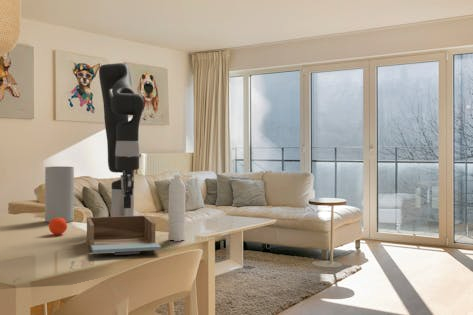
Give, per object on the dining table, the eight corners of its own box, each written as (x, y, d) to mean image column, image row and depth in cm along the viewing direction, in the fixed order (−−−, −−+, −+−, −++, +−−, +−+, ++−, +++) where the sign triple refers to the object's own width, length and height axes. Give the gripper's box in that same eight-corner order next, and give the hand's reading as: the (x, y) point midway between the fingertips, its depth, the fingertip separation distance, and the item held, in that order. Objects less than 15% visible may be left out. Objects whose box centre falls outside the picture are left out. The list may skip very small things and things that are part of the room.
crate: (86, 241, 207) (86, 217, 207) (146, 238, 214) (146, 215, 213) (90, 251, 188) (90, 225, 188) (155, 248, 195) (155, 223, 194)
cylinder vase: (39, 221, 256) (39, 167, 255) (62, 218, 266) (62, 166, 265) (56, 224, 248) (56, 168, 248) (79, 221, 259) (79, 167, 258)
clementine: (49, 233, 225) (49, 215, 224) (67, 232, 226) (67, 215, 226) (48, 236, 217) (48, 218, 217) (66, 235, 219) (67, 217, 219)
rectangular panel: (91, 245, 186) (93, 249, 177) (155, 242, 193) (160, 246, 183) (91, 251, 186) (93, 256, 176) (155, 248, 193) (161, 253, 183)
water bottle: (169, 241, 208) (170, 174, 208) (166, 238, 215) (167, 173, 214) (192, 240, 211) (193, 174, 210) (189, 237, 217) (189, 173, 216)
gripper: (113, 154, 186) (113, 206, 187) (117, 155, 174) (117, 211, 174) (136, 154, 189) (135, 205, 189) (142, 155, 176) (141, 210, 177)
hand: (127, 208), depth 182 cm, fingers closed
